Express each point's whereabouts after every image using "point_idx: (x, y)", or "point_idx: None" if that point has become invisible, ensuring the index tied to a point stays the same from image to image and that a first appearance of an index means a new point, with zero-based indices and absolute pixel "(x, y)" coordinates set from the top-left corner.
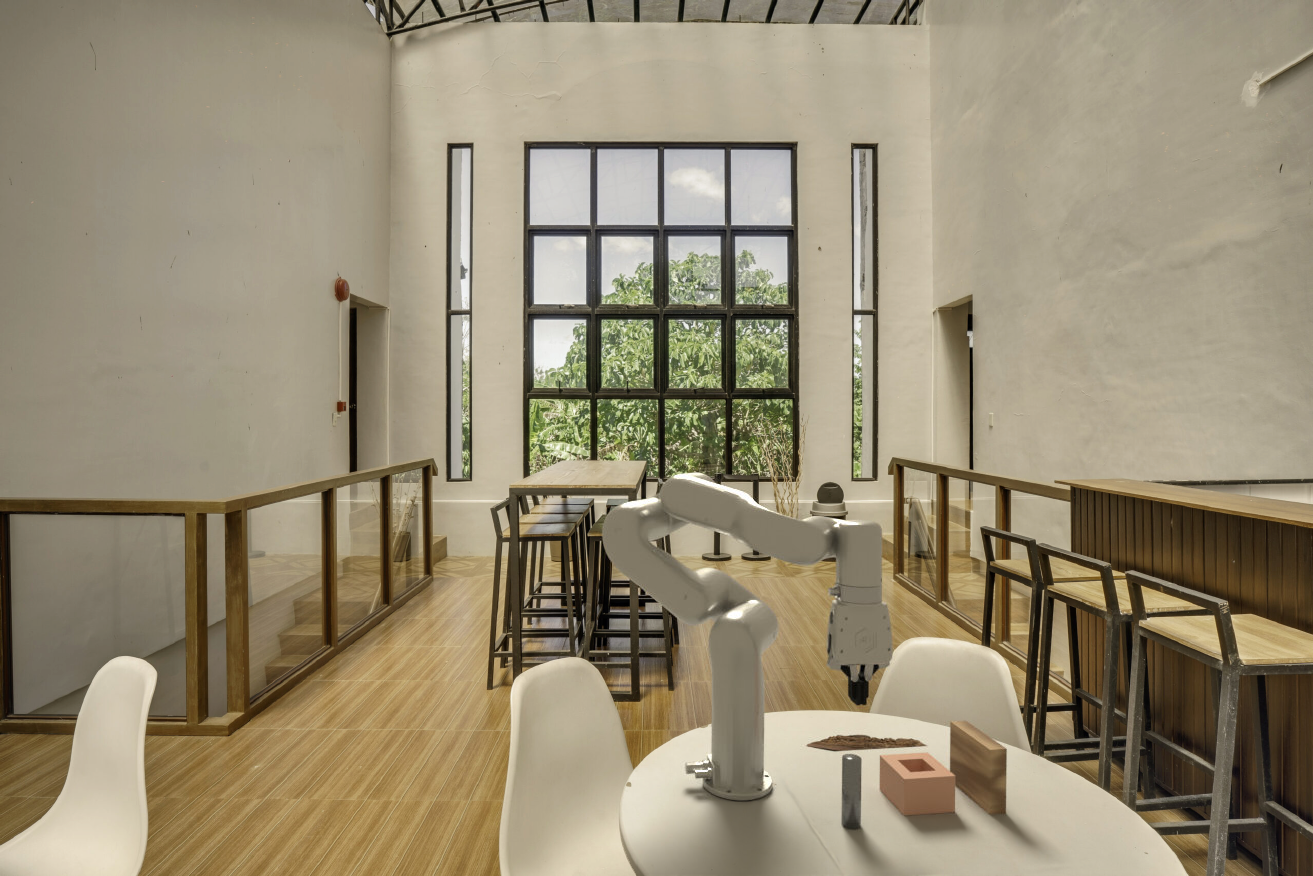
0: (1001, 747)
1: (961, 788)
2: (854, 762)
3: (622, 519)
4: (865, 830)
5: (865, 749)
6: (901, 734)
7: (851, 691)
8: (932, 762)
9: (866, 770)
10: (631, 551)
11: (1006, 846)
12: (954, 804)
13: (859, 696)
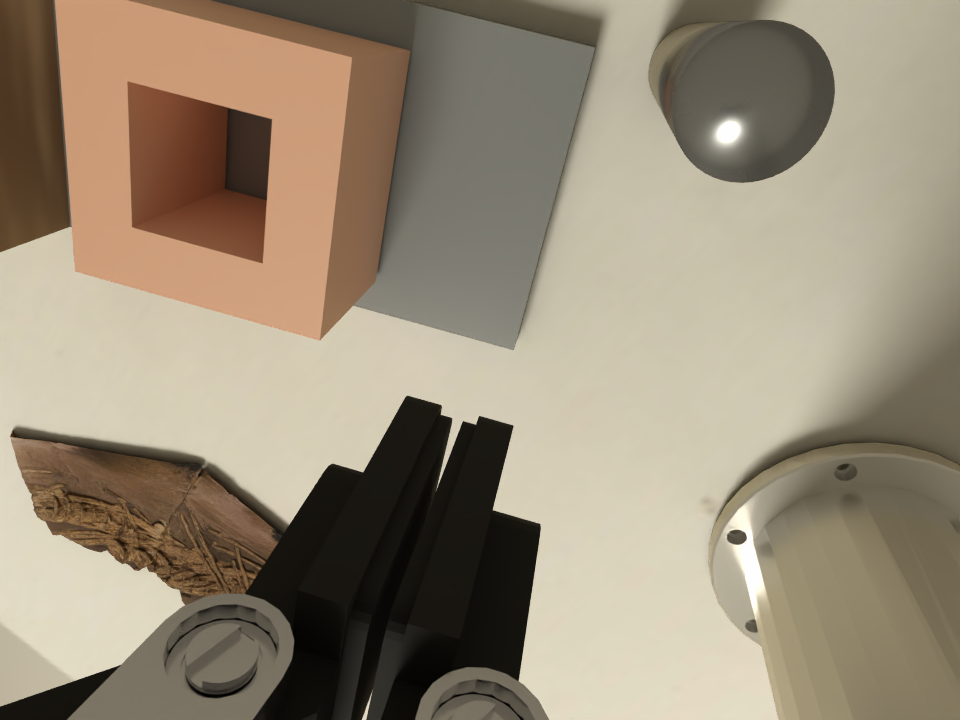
0: None
1: (51, 143)
2: (793, 25)
3: None
4: (615, 65)
5: (241, 544)
6: (70, 569)
7: (531, 587)
8: (101, 171)
9: (317, 441)
10: None
11: None
12: None
13: (476, 476)
